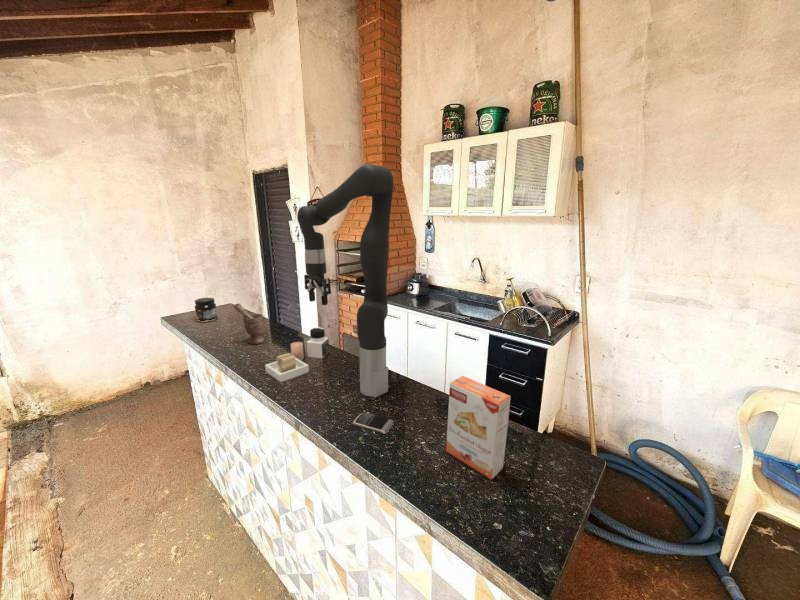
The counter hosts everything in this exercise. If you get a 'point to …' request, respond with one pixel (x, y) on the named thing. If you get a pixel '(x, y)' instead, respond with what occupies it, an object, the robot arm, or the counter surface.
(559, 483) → the counter surface
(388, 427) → the cell phone
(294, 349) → the peach rounded capsule
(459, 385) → the cracker box
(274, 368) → the white tray
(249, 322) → the mortar and pestle
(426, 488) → the counter surface
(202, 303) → the supplement container
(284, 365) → the maple block
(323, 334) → the medicine bottle
